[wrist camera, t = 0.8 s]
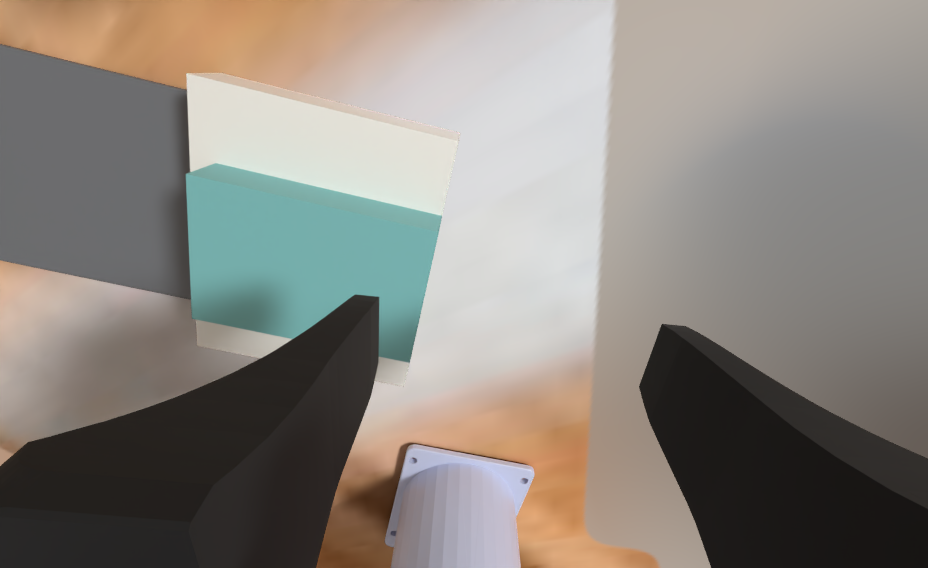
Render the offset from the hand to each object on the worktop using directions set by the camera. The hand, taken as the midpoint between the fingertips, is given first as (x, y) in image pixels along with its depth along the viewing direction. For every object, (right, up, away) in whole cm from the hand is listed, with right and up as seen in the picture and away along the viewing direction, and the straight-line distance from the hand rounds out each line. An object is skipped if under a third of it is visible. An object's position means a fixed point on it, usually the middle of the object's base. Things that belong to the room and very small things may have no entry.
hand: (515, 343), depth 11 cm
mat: (-19, +6, +9) cm, 22 cm away
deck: (-8, +4, +10) cm, 13 cm away
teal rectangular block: (-7, +3, +7) cm, 11 cm away
